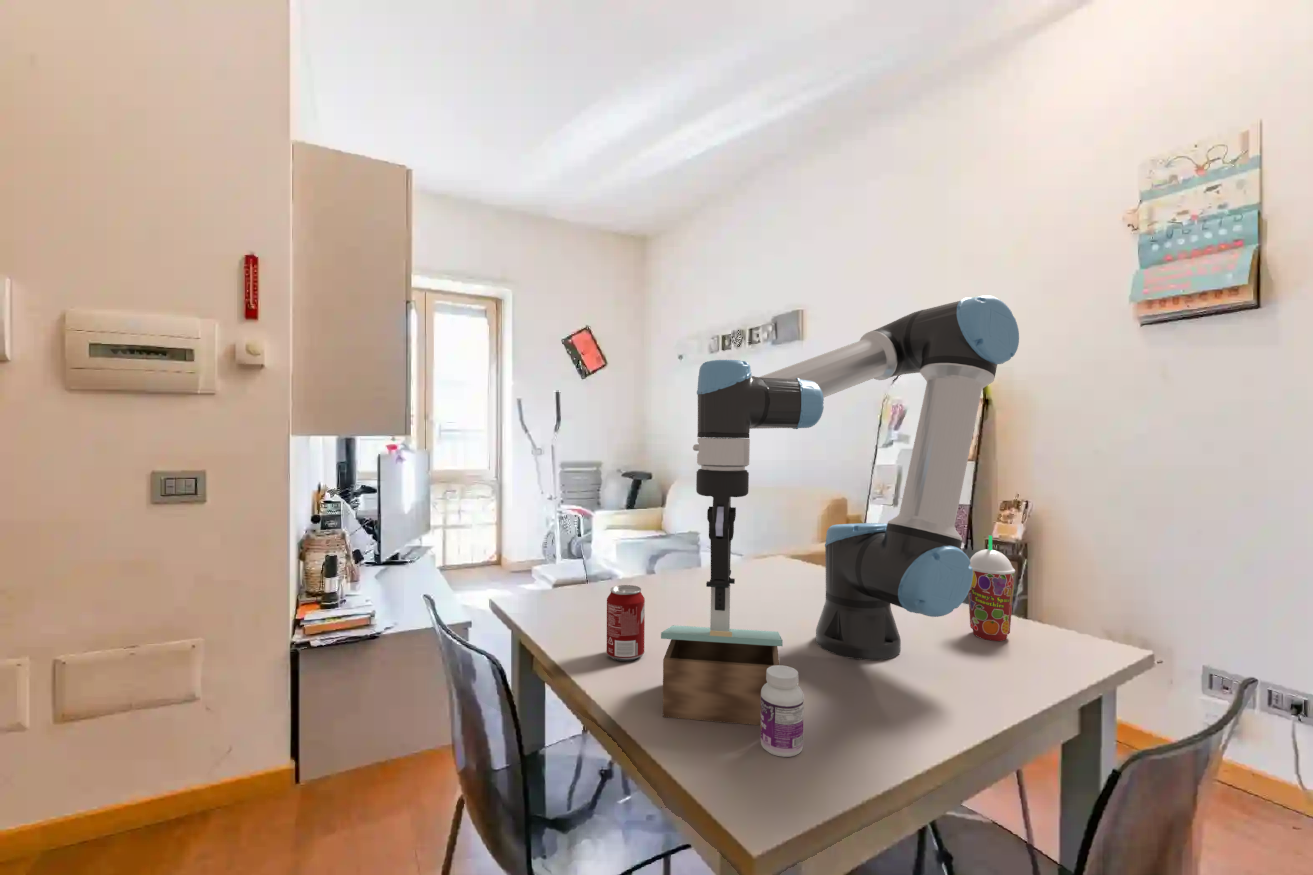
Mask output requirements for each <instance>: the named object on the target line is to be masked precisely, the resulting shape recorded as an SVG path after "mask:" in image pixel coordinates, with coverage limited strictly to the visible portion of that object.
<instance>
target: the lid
mask: <svg viewBox="0 0 1313 875" xmlns="http://www.w3.org/2000/svg"><path fill="white" fill-rule="evenodd" d="M660 639H662V640H671V639H675V640H690V641H706V642H721V643H737V644H752V645H768V646H777V647H783V643H784V642H783V639H782V636H781V634H780V633H779V631H773V630H757V629H754V630H753V629H739V628H730V630H729V632H728V631H712V630H710V627H706V626H690V625H675V624H674V625H671V626H670V627H667V628H666V629H665V630H663V631H661V632H660Z"/></svg>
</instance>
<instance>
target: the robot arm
mask: <svg viewBox="0 0 1313 875" xmlns="http://www.w3.org/2000/svg"><path fill="white" fill-rule="evenodd" d="M1019 343H1020V331H1019V326H1018V323H1017V320H1016V318H1015V316H1014V314H1013V312H1012V311H1011V309H1010V308H1009V307H1008V305H1007V304H1006V303H1004V301H1002V300H1001V299H999V298H997V297H995V296H993V295H986V294H984V295H979V296H974V297H969V296H968V297H964V298H962V299H961V300H957V301H953V302H950V303H946V304H941V305H938V306H933V307H928V308H926V309H920V310H917V311H914V312H912V313H909V314H907V315H904V316H903V317H900V318H898V319H896V320H894V321H891V322H889V323H887V324H885V325H883V326H881V327H878V328H876V329H873V330H871V331H867V332H866V333H864V334H863V335H862V336H861V337H860V339H859V340H858V341H856V342H853V343H851V344H847V345H845V346H842V347H839V348H837V349H834V350H830V351H827V352H826V353H825V352H824V353H821V354H820V355H817V356H814V357H811V358H808V359H806V360H802V361H800V362H797V363H794V364H792V365H789V366H785V367H783V368H781V369H778V370H775V371H772V372H769V373H767V374H764V375H761V376H755V375H754V376H753V375H752V372H751V371H752V369H751V365H750V363H749V362H748V361H746V360H741V359H740V360H739V359H714V360H709V361H704V362H703V363H702V364H701V365H700V367H699V372H698V377H697V390H696V395H697V436H696V437H697V444H696V443H695V444H693V446H692V450H693V451H694V452H697V453H696V465H698V466H700V468H698V469H697V470H696V480H695V481H696V482H695V483H696V484H695V485H696V486H695V489H696V490H695V492H696V493H697V495H699V496H701V497H702V496H703V497H712V506H709V507H708V508H707V513H706V514H707V516H706V519H707V521H708V538H709V541H710V579H709V581H706V584H705V585H706V587H708V588H710V620H709V621H710V624H709V625H710V627H709V628H710V630H712V631H728V632H729V630H730V629H731V628H730V626H731V624H730V621H731V620H730V619H731V618H730V616H731V585H732V584H733V585H734V584H735V582H736V581H735V579H736V578H731V574H732V570H731V557H732V556H731V555H732V554H731V553H732V550H731V549H732V548H731V547H732V540H733V538H734V534H735V521H736V517H737V516H736V515H737V507H735V506H732V505H731V504H732V502H731V501H732V498H741V497H742V498H743V497H746V496H747V495H748V494H749V488H750V487H749V482H750V481H749V476H750V474H749V473H750V472H748V470H747V469H746V467H748V466H749V465H750V450H751V449H750V446H751V445H750V444H751V440H750V430H751V429H752V430H753V429H758V430H759V429H793V430H799V429H809V428H812V427H814V426H815V425H817V423H818V422H819V421H820V420H821V418H822V416H823V413H824V401H825V400H824V398H826V397H829V396H831V395H834V394H837V393H839V392H841V391H844V390H848V389H850V388H853V387H855V386H857V385H860V384H862V383H863V384H864V383H865V382H867V381H871V380H873V379H874V380H878V381H884V380H887V379H891V378H893V377H897V376H901V375H902V376H903V375H909V374H911V375H912V374H917V373H918V374H921V376H922V377H923V378H924V379H923V380H925V381H926V385H925V388H924V389H925V390H924V393H923V394H924V395H923V400H922V404H921V408H920V414H919V419H918V422H917V427H916V431H915V438H914V441H913V447H912V452H911V456H910V460H909V461H910V462H909V466H908V471H907V476H906V480H905V486H904V489H903V494H902V500H901V504H900V507H899V508H900V509H899V513H898V514H897V516H895V517H893V518H891V519H890V520H888V521H887V523H885V522H883V523H881V522H870V523H869V522H866V523H865V522H864V523H863V522H862V523H842V524H841V523H840V524H839V523H838V524H832V525H831V526H829V527H828V529H827V530H826V536H825V544H824V547H825V548H824V549H825V551H824V552H825V601H824V604H823V608H822V611H821V614H820V617H819V620H818V622H817V625H816V628H815V642H816V644H817V645H818V646H819V647H820V648H821V649H823V650H825V651H827V652H829V653H832V654H835V655H838V656H842V657H845V658H849V659H855V660H856V659H857V660H865V661H866V660H869V661H871V660H873V661H874V660H875V661H877V660H887V659H891V658H894V657H896V656H898V655H900V653H901V649H902V648H901V645H902V644H901V643H902V642H901V636H900V633H899V629H898V627H897V623H896V621H895V617H894V615H893V611H892V606H891V605H894V606H896V607H899V608H902V609H905V610H906V611H907V612H910V613H914V614H917V615H918V614H920V615H923V616H926V617H932V618H936V617H937V618H938V617H944V616H946V615H949V614H951V613H952V612H953V611H954V610H955V609H958V608H959V607H960V606H961V605H962V603H963V602H964V601H965V600H966V599H967V597H968V593H969V590H970V588H971V584H972V579H973V569H972V567H971V566H969V565H970V563H971V562H970V558H969V556H968V555H967V553H965V552H964V551H963V550H962V544H963V538H962V536H961V534H960V533H959V532H958V530H956V526H955V525H956V521H957V516H958V515H957V514H958V510H959V505H960V501H961V495H962V490H963V486H964V480H965V476H966V469H967V466H968V461H969V456H970V450H971V445H972V440H973V436H974V431H975V425H976V421H977V415H978V411H979V410H978V409H979V406H980V401H981V397H982V396H981V395H982V392H983V391H982V390H983V389H984V388H986V387H987V386H989V385H990V384H992V383H993V382H994V381H995V378H996V373H997V368H998V365H1002V364H1004V363H1006V362H1010V360H1011V359H1012V358H1013V357H1014V356H1015V355H1016V354H1017V351H1018V349H1019V348H1018V347H1019ZM731 506H732V507H731Z"/></svg>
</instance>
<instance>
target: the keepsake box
mask: <svg viewBox="0 0 1313 875" xmlns="http://www.w3.org/2000/svg"><path fill="white" fill-rule="evenodd" d="M779 656H780V655H779V648H778V646H768V645H752V644H737V643H721V642H706V641H690V640H675V639H670V641H669V644H668V646H667V649H666V652H665V655H664V656H663V660H662V663H663V664H662V718H669V719H670V718H671V719H672V718H673V719H682V720H693V721H705V722H707V721H708V722H715V723H717V722H719V723H727V724H728V723H729V724H730V723H731V724H741V725H749V726H751V725H752V726H761V689H762V687H763V686H764V685H765V684H766V683H767V680H766V670H767V668H769V667H771V666H775V665H780V657H779Z"/></svg>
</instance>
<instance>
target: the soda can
mask: <svg viewBox="0 0 1313 875" xmlns="http://www.w3.org/2000/svg"><path fill="white" fill-rule="evenodd" d="M645 602H646V601H645V596H644V595H643V594H642V588H641V587H640V586H638V585H632V584H621V585H615V586H612V587H611V588H610V593H609V595H608V596H607V598H606V649H605V650H606V651H605V652H606V654H607V656H608V657H610V658H612V659H613V660H615V661H619V662H631V661H634V660H635V661H636V660H637V659H639V658H640V657H642V656H643V655H644V654H645V615H646V614H645V613H646V612H645V611H646V610H645V606H646V605H645Z"/></svg>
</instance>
